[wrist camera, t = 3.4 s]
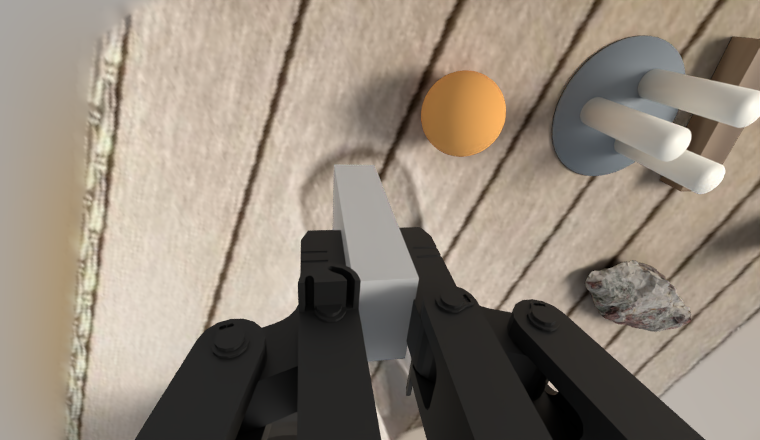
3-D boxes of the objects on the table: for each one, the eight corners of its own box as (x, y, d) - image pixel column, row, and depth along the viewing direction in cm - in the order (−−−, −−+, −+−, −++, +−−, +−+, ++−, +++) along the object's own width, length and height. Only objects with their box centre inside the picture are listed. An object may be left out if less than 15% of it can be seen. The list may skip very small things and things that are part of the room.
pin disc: (534, 174, 35) (536, 175, 34) (581, 29, 28) (582, 29, 28) (644, 175, 37) (646, 176, 37) (709, 41, 31) (711, 41, 31)
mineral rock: (568, 278, 43) (592, 305, 39) (629, 233, 41) (661, 258, 37) (615, 331, 50) (640, 358, 46) (670, 295, 48) (700, 321, 44)
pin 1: (631, 97, 32) (724, 127, 25) (643, 67, 31) (745, 89, 24) (654, 98, 33) (753, 128, 25) (667, 69, 31) (774, 91, 24)
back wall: (659, 180, 37) (680, 191, 35) (732, 36, 31) (764, 39, 29) (684, 180, 38) (706, 191, 36) (761, 39, 31) (794, 42, 29)
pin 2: (608, 152, 35) (687, 194, 28) (618, 126, 33) (704, 163, 26) (630, 152, 35) (713, 193, 28) (641, 127, 34) (731, 164, 27)
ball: (408, 139, 31) (428, 169, 26) (417, 61, 28) (443, 77, 23) (476, 141, 32) (508, 170, 27) (492, 66, 29) (532, 82, 24)
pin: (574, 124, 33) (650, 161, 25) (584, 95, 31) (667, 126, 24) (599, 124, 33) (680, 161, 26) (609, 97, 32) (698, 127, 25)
